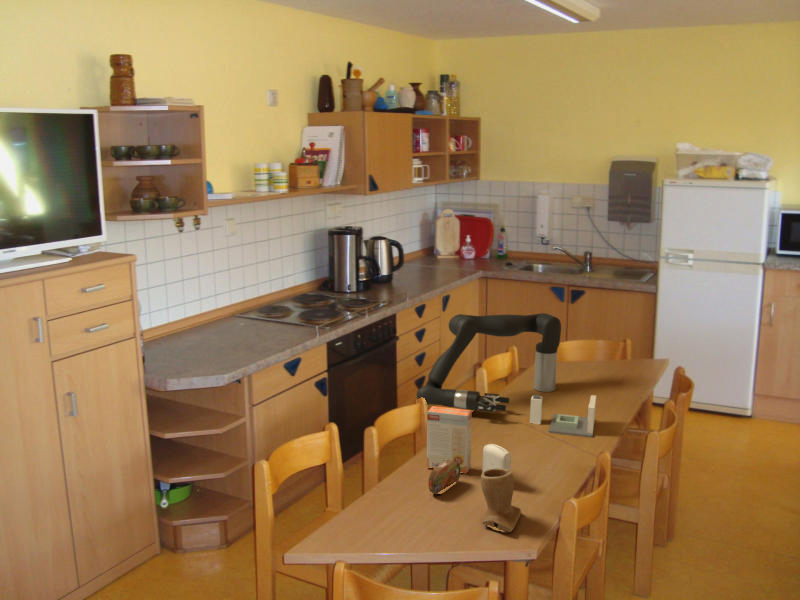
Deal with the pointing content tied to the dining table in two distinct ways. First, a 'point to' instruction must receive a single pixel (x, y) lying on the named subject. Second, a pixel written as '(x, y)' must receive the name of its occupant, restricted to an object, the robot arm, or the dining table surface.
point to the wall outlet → (575, 422)
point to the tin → (444, 476)
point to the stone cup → (499, 499)
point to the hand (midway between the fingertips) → (507, 404)
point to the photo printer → (496, 457)
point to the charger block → (536, 409)
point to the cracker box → (449, 437)
